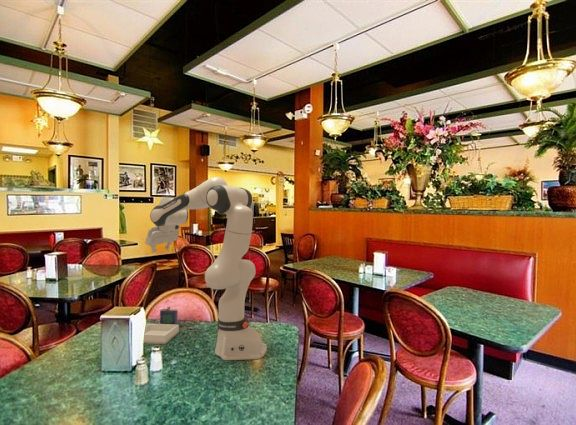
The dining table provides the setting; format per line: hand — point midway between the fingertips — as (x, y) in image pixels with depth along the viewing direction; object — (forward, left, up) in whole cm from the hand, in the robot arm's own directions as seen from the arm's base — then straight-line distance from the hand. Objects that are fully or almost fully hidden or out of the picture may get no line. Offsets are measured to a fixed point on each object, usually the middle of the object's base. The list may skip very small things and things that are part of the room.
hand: (160, 250), depth 169 cm
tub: (-7, +17, -40) cm, 44 cm away
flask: (-6, +3, -40) cm, 40 cm away
